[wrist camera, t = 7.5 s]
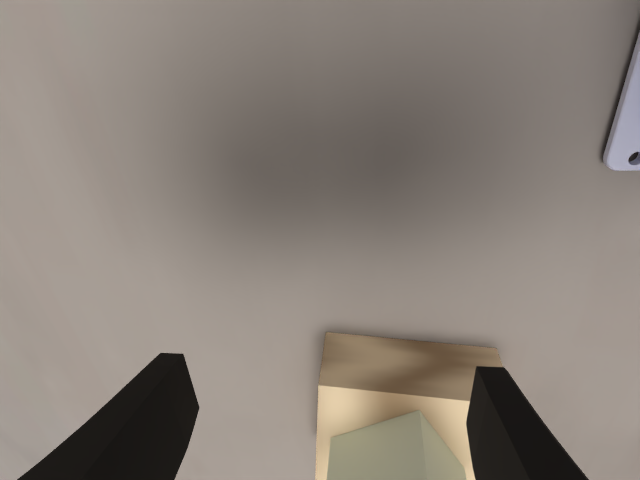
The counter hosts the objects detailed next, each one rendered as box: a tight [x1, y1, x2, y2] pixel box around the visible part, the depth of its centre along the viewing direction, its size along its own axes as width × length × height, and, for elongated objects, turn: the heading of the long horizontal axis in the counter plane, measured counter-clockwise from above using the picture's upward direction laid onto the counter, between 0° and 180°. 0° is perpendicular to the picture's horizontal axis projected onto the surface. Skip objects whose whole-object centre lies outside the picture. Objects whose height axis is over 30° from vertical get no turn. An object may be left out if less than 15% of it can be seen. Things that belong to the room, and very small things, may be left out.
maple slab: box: [315, 332, 503, 480], centre depth 23 cm, size 9×9×4 cm
